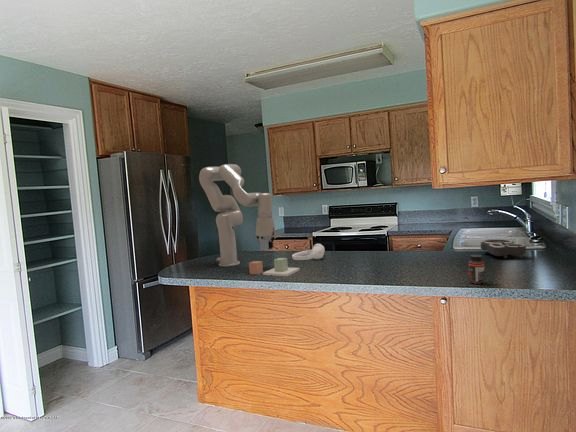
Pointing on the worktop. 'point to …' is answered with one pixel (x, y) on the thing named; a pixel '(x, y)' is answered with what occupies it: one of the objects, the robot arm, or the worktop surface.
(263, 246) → the brick mid
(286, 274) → the plate
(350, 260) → the worktop surface
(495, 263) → the worktop surface
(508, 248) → the motorcycle dashboard
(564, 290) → the worktop surface
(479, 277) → the supplement bottle
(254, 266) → the brick top
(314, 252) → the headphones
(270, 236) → the robot arm
